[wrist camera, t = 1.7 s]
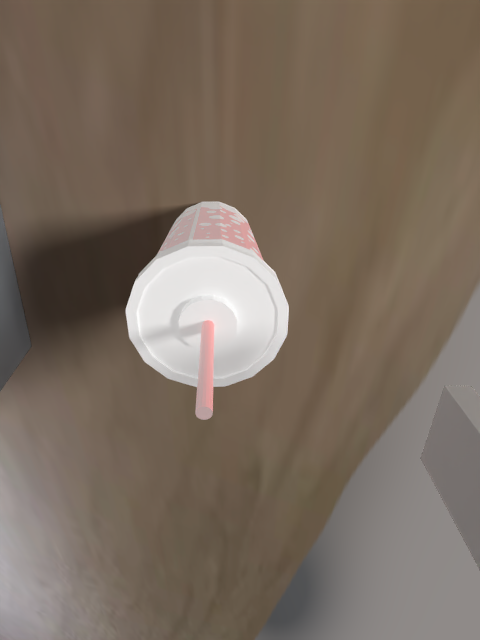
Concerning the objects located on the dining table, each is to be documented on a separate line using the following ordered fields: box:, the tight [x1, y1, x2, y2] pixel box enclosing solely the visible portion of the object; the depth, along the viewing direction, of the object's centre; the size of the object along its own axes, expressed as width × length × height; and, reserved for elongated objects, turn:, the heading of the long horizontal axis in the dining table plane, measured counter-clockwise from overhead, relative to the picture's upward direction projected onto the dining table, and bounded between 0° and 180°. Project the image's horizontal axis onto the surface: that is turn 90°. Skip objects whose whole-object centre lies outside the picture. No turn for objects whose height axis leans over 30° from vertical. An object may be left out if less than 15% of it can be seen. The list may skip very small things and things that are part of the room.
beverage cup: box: [126, 202, 289, 420], centre depth 18 cm, size 6×6×14 cm
